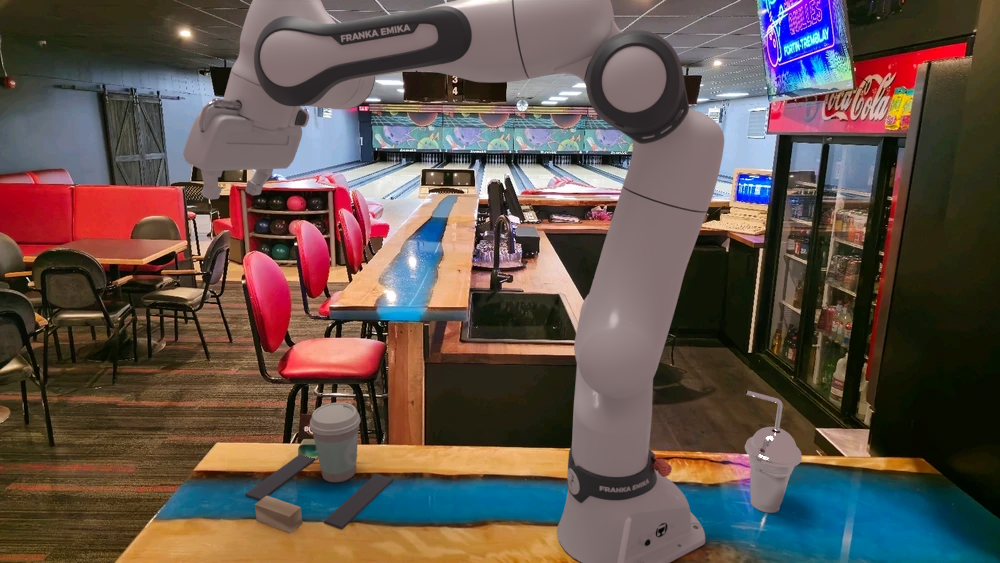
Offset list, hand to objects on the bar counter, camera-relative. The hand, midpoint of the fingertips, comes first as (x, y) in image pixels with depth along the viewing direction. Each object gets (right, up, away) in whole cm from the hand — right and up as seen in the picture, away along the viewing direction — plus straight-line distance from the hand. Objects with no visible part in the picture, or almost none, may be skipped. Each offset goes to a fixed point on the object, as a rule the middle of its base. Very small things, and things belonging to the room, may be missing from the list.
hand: (232, 195), depth 89 cm
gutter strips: (+8, -48, +17) cm, 51 cm away
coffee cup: (+10, -47, +21) cm, 52 cm away
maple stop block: (+4, -50, +8) cm, 51 cm away
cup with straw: (+82, -50, +14) cm, 97 cm away
